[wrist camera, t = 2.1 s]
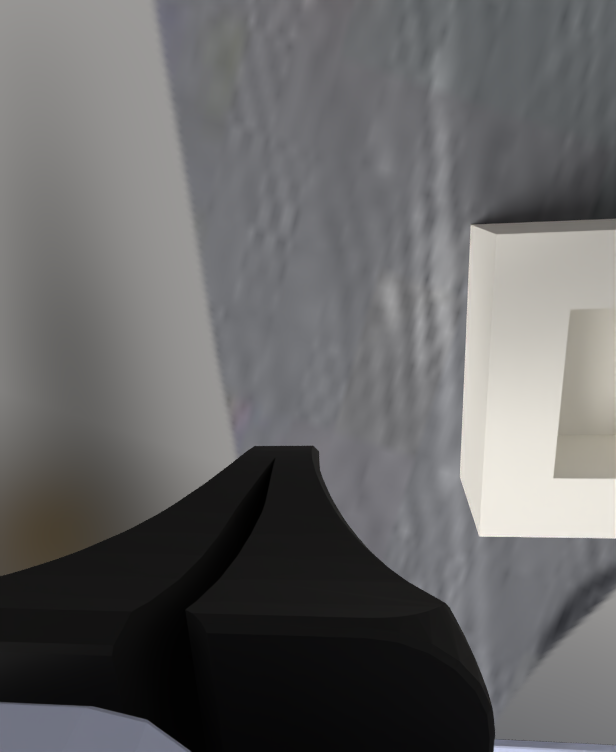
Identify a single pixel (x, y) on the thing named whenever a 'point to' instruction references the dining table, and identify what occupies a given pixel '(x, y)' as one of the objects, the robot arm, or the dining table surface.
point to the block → (541, 379)
